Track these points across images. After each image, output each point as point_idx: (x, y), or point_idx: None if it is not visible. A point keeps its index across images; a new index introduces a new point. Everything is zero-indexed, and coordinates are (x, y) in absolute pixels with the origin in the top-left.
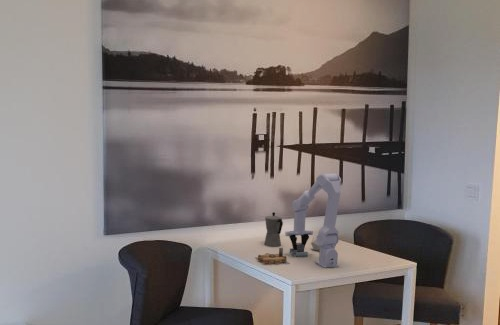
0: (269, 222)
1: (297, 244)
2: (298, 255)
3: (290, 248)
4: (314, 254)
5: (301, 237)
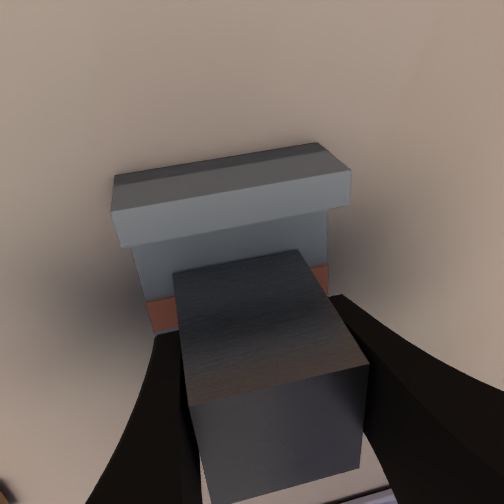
0: None
1: (230, 486)
2: None
3: (128, 215)
4: (456, 256)
5: (456, 455)
